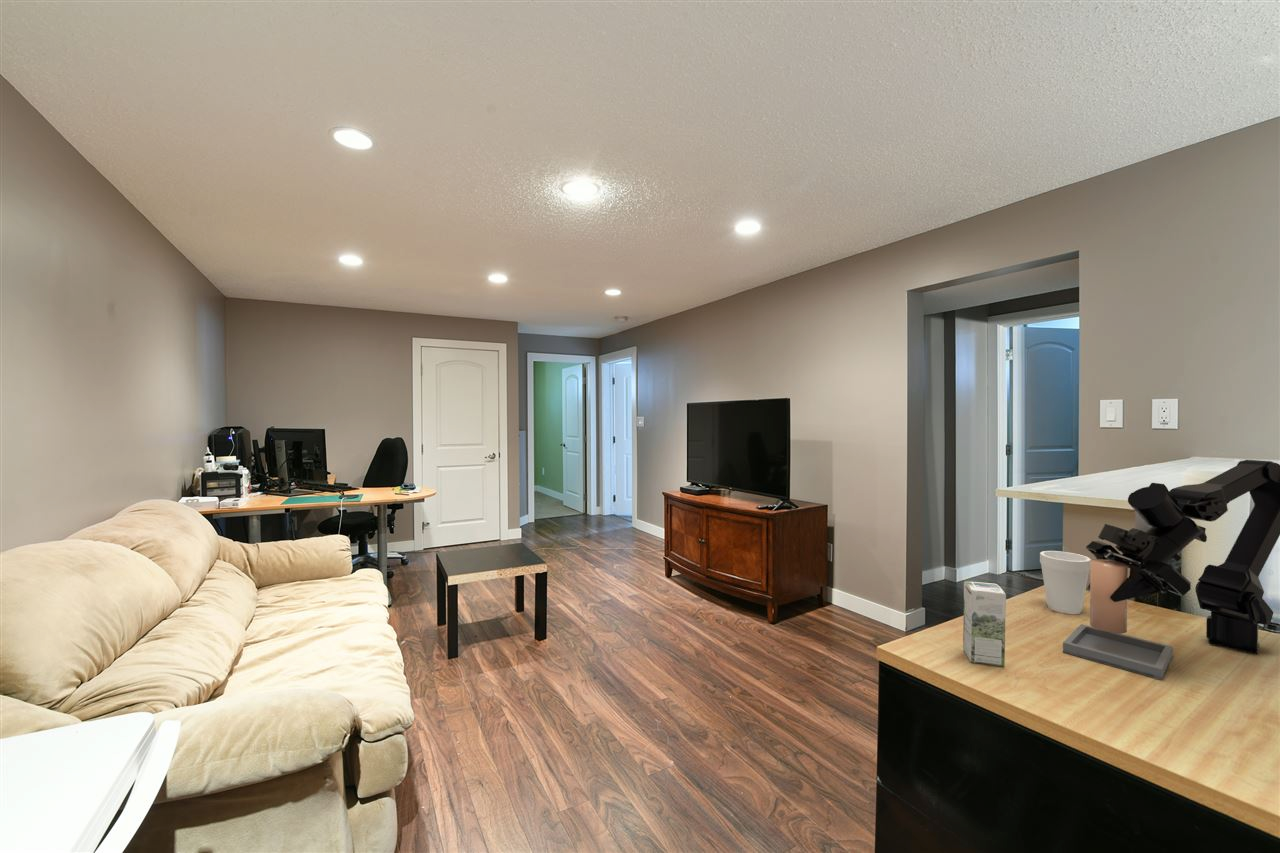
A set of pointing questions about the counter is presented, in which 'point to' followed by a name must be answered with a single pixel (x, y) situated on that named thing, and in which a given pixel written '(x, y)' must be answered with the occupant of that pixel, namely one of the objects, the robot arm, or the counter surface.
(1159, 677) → the tray
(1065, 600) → the foam cup
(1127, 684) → the counter surface
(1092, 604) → the peach rounded cylinder
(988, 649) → the syrup box
